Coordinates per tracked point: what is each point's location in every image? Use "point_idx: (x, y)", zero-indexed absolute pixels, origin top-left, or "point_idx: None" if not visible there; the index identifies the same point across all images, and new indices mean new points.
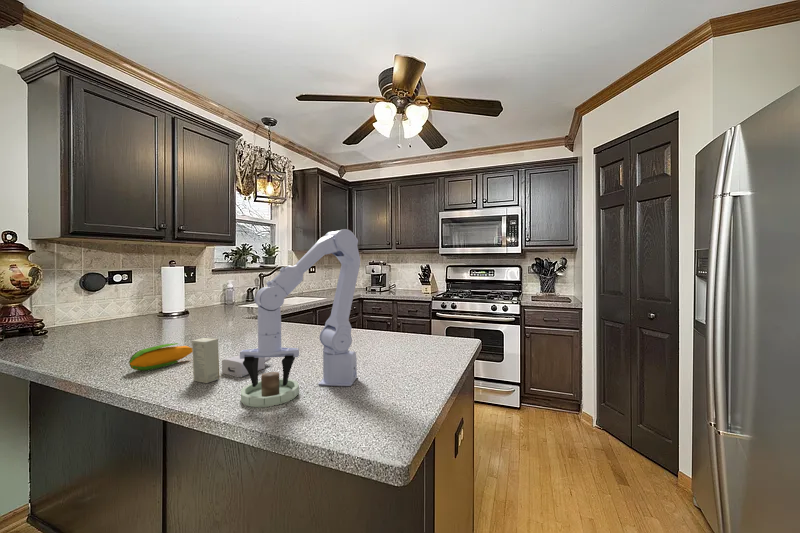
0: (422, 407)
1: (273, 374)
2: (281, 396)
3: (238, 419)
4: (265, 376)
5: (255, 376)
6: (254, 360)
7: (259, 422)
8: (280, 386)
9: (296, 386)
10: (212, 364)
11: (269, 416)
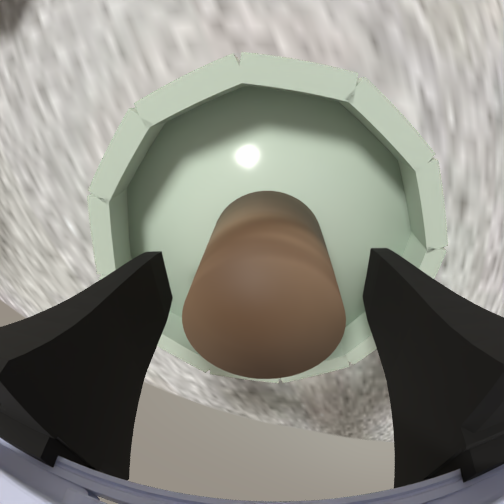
0: None
1: (293, 331)
2: (355, 359)
3: (225, 402)
4: (237, 363)
5: (143, 328)
6: (97, 457)
7: (296, 415)
8: (298, 116)
9: (433, 259)
10: None
11: (318, 396)
